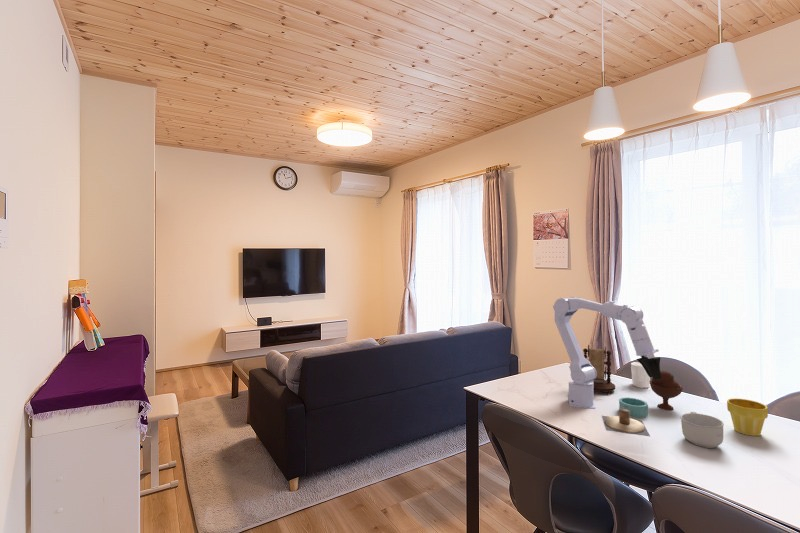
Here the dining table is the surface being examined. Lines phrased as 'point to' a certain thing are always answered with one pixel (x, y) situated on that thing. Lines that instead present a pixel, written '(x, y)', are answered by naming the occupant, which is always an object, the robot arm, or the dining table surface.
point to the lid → (624, 422)
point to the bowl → (634, 407)
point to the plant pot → (747, 415)
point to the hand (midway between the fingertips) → (655, 377)
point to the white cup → (639, 375)
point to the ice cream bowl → (666, 389)
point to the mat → (625, 432)
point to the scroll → (600, 368)
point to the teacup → (702, 429)
